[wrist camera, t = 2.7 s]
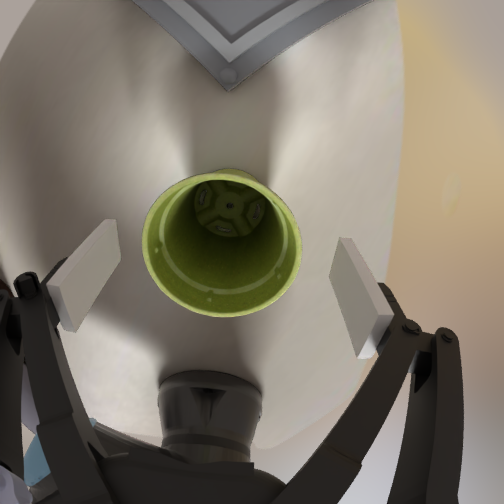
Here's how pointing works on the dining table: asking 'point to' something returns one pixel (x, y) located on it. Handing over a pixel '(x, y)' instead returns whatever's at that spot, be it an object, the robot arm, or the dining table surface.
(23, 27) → the dining table surface
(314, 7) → the base plate
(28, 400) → the bluetooth speaker
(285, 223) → the plant pot
